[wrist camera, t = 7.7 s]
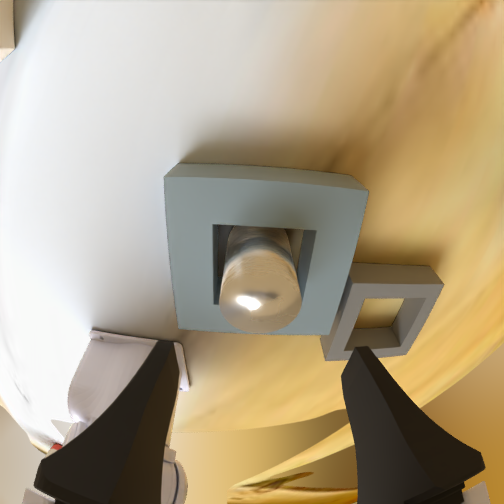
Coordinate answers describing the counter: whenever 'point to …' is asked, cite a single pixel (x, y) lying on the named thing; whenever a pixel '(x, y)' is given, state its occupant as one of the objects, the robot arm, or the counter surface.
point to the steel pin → (259, 280)
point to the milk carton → (6, 28)
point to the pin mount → (382, 286)
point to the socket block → (261, 215)
